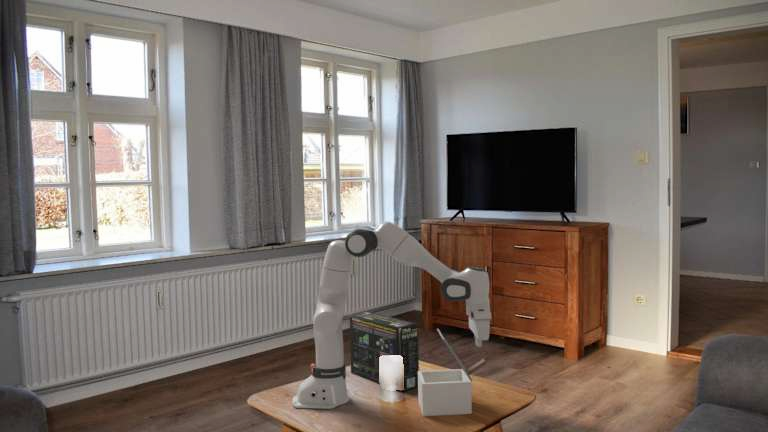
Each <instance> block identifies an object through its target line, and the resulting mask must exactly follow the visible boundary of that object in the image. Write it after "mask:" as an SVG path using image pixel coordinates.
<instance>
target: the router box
mask: <svg viewBox="0 0 768 432" xmlns="http://www.w3.org/2000/svg"><path fill="white" fill-rule="evenodd" d="M348 318H349V334H350V337H349V338H350V341H349V342H350V343H349V344H350V373H351V374H354V375H356V376H359V377H361V378H364V379H367V380H369V381H372V382H375V383H377V384H379V357H380V356H382V355H401V356H402V357H403V364H404V389H405V391H407V390H411V389H414V388H416V387H418V371H420V365H419V361H420V354H419V351H420V350H419V348H420V347H419V345H420V344H419V330H418V329H419V326H418V323H416V322H412V321H408V320H404V319H399V318H397V317H396V318H395V317H391V316H388V315H383V314H379V313H376V312H372V311H363V312H362V311H361V312H357V313H352V314H349V315H348Z"/></svg>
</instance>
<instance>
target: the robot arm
mask: <svg viewBox="0 0 768 432" xmlns="http://www.w3.org/2000/svg"><path fill="white" fill-rule="evenodd" d="M378 249H380V250H382V251H384V252H385V253H387V255H389V256H390V257H391V258H393V259H394V260H395V261H397V262H398V263H400V264H402V265H404V266H406V267H415V268H420V269H423V270H424V271H426V272H427V273H429V274H430V275H431V276H433V278H435V279H436V280H438V281H439V282H440V283H441V284H440V294H441V295H442V298H444V300H446V301H448V302H451V303H455V302H462V301H465V314H466V315H467V316H468V328H469V329H470V331H471V332H472V333H473V335H474V336H473V337H474V340H475V343H474V344H475V346H476V347H477V348H481V347H483V346H482V345H483V341H489V338H490V330H491V329H490V327H491V325H490V324H491V322H490V320H492V313H491V306H490V303H491V302H490V297H489V294H490V278H489V273H488V271H487V270H486V269H485V268H483V267H480V266H468V267H466V268H465V269H464V270H456V269H453V268H450V267H449V266H448V265H446V264H445V263H444V262H442V261H441V260H439V259H438V258H436V257H435V256H434V255H432V253H430V252H429V251H428V250H427V249H426V248H425V247H424V246H423V245H422V244H421V243H420V242H419V241H418V240H417V239H416V238H415V237H414V236H412V235H411V234H410V233H409V232H407V231H406V230H405V229H403V228H402V227H400V226H399V225H397V224H395V223H393V222H391V221H384V222H382V223H380V224H379V225H378V226H377V227H376V228H375V229H374V228H372V227H370V226H360V227H356V228H354V229H353V230H351V231H350V232H349V233H348V234H347V235H346V237H345V239H344V240H342V239H341V240H339V239H337V240H333V241H331V242H330V243H329V244H328V246H327V249H326V253H325V255H324V259H323V262H322V263H323V264H322V269H321V275H320V280H319V287H318V296H317V303H316V309H315V311H314V315H313V317H312V323H313V337H314V345H315V363H311V364H310V373H311V374H310V376H308V377H307V378H305V379H304V380H303V381H302V382H301V383H300V385H299V386H298V390H297V393H296V394H295V395H294V396H293V397H292V400H291V401H292V402H291V404H292V406H293V407H294V408H296V409H322V410H323V409H324V410H325V409H326V410H331V409H335V408H336V407H338V406H341V405H344V404H346V403H348V402H349V401H350V399H351V398H350V395H349V393H348V389H347V384H346V383H347V381H346V377H347V368H346V363H345V350H344V349H345V348H344V347H345V346H344V335H343V318H344V312H345V307H346V301H347V294H348V290H349V289H348V288H349V282H350V277H351V276H350V275H351V271H352V265H353V261H354V259H355V258H362V257H366V256H368V255H370V254H372V253H373V252H374V251H375V250H378Z"/></svg>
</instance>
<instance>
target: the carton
mask: <svg viewBox="0 0 768 432" xmlns="http://www.w3.org/2000/svg"><path fill="white" fill-rule="evenodd" d="M417 390H418V391H417V393H418V394H417V395H418V397H417V400H418V401H417V402H418V404H419V408H420V411H421V413H422V417H432V416H433V417H434V416H436V417H437V416H456V415H469V414H470V415H471V414H473V413H472V407H473V405H472V382H471V381H470V379H469V378H468V376H467V375H466V373H465V372H464V370H463V369H462V368H456V369H454V368H453V369H433V370H432V369H431V370H419V371H418V386H417Z"/></svg>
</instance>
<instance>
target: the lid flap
mask: <svg viewBox="0 0 768 432" xmlns="http://www.w3.org/2000/svg"><path fill="white" fill-rule="evenodd" d="M436 330H437V333H438V334H439V336H440V337H441V339H442V341H443V343H444V344H445V346H446V348H448V350H449V351H450V353H451V354H452V356H454V358H455V360H456V363H458V364H459V366H460V367H461V369H463V370H464V372H465V373H466V375H467V376H468V378H469V379H470V381H471V383H472V382H473V378H471V374H474V373H476V372H477V371H478V370H479V369H480V368H482V367H483V366H485V365H487V361H486V360H485V358H482V359H480V360H479V361H477V362H476V363H475V364H473V365H471V366H470V367H468V368H466V367H465V366H464V364H463V363H462V361H461V360H460V358H459V356H457V354H456V353H455V351H454V350H453V348H452V347H451V345H450V344H449V342H448V341H447V339H446V338H445V337H444V335H443V334H442V332H441V330H440V329H439V328H436Z"/></svg>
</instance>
